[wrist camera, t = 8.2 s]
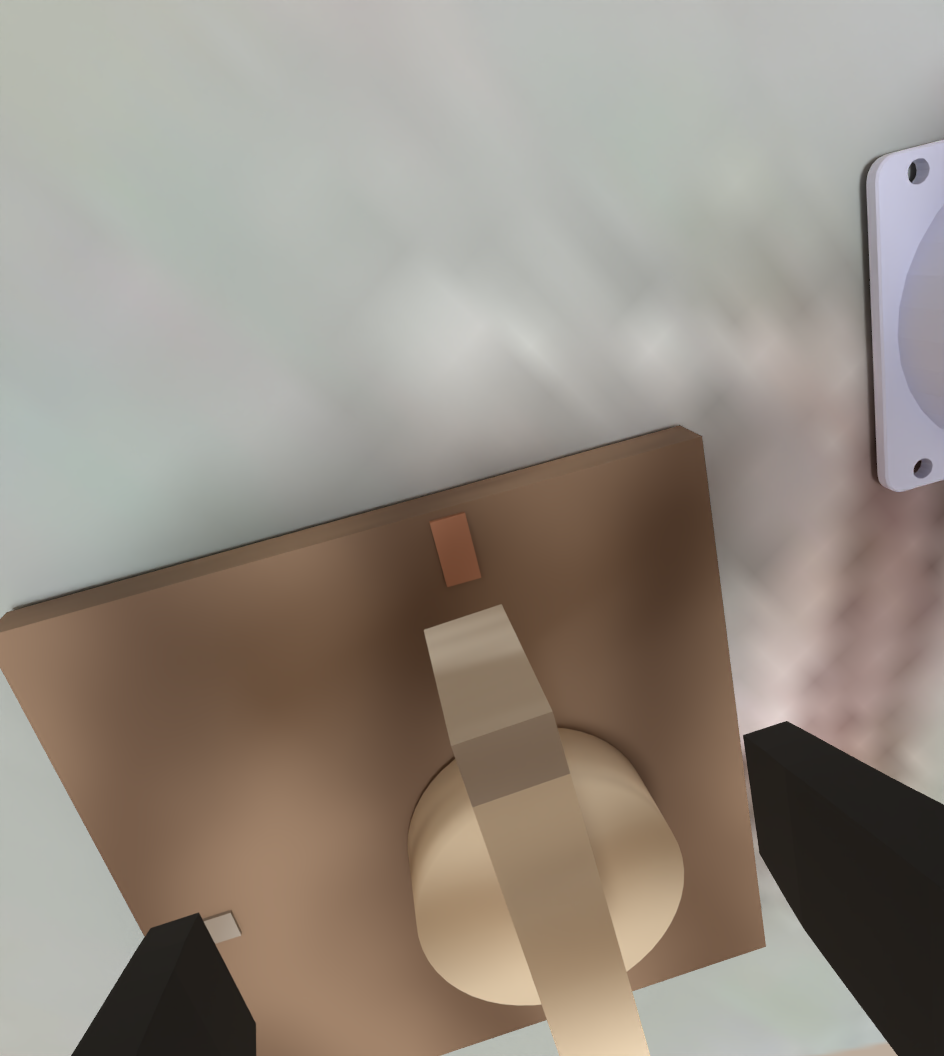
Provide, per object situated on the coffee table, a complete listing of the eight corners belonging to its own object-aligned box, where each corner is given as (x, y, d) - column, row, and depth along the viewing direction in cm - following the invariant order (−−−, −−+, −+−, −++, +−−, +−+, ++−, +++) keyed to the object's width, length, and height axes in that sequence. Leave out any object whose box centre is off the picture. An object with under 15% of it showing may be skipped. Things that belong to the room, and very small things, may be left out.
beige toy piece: (666, 881, 21) (786, 1107, 16) (447, 959, 21) (489, 1221, 15) (581, 527, 17) (702, 660, 12) (308, 616, 17) (295, 799, 11)
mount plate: (679, 425, 18) (704, 437, 17) (746, 914, 24) (767, 949, 23) (6, 612, 17) (-19, 639, 16) (248, 1079, 23) (243, 1125, 22)
